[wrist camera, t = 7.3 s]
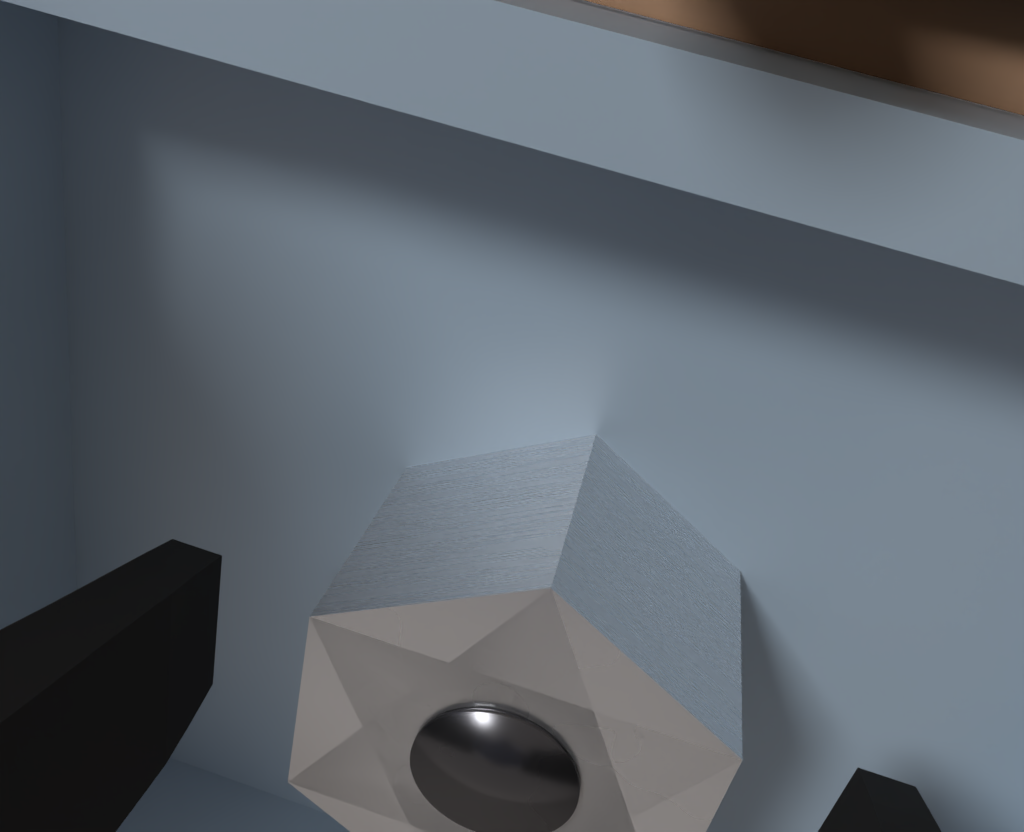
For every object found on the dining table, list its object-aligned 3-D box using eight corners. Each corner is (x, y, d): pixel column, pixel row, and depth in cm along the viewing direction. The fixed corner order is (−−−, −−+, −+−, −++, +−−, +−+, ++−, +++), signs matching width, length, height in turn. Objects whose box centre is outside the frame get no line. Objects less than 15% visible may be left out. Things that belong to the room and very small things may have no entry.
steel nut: (368, 675, 13) (275, 856, 11) (422, 381, 11) (318, 519, 8) (652, 770, 13) (631, 983, 10) (777, 488, 10) (791, 671, 8)
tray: (51, 724, 16) (-54, 841, 14) (0, -153, 10) (-218, -189, 7) (907, 1032, 15) (937, 1214, 13) (1569, 257, 8) (1877, 365, 6)
